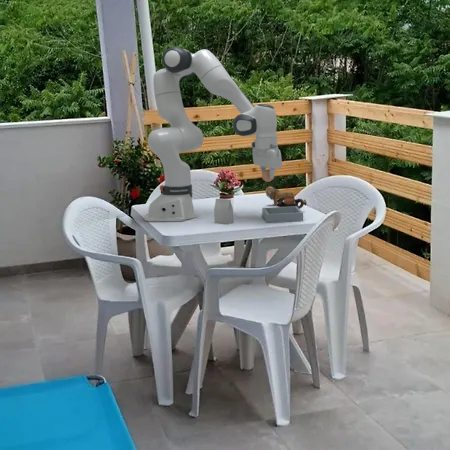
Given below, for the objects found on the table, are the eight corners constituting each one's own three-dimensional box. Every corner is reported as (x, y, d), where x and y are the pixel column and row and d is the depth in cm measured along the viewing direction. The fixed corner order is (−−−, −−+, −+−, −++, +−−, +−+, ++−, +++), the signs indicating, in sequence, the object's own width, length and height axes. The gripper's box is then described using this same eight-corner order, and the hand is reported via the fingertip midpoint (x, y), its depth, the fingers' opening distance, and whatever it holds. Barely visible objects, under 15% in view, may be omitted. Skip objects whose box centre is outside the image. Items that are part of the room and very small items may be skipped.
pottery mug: (278, 216, 336) (273, 198, 338) (281, 221, 345) (276, 204, 347) (305, 208, 334) (300, 191, 337) (307, 214, 343) (303, 197, 346)
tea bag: (228, 224, 320) (227, 200, 318) (214, 223, 324) (213, 199, 321) (233, 222, 323) (232, 198, 321) (219, 221, 327) (218, 197, 325)
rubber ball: (260, 182, 321) (259, 170, 320) (264, 180, 325) (264, 168, 325) (271, 182, 319) (271, 170, 318) (275, 181, 323) (275, 169, 322)
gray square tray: (267, 222, 320) (266, 214, 320) (262, 215, 335) (262, 207, 334) (303, 221, 321) (303, 212, 321) (296, 214, 336) (296, 206, 335)
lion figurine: (267, 207, 355) (266, 187, 353) (265, 205, 360) (264, 185, 358) (298, 205, 356) (298, 186, 354) (296, 203, 361) (296, 184, 359)
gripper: (285, 145, 311) (286, 179, 314) (263, 142, 330) (264, 174, 332) (270, 146, 309) (272, 180, 311) (249, 143, 327) (250, 175, 330)
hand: (267, 177), depth 322 cm, fingers closed on rubber ball, 5 cm apart
